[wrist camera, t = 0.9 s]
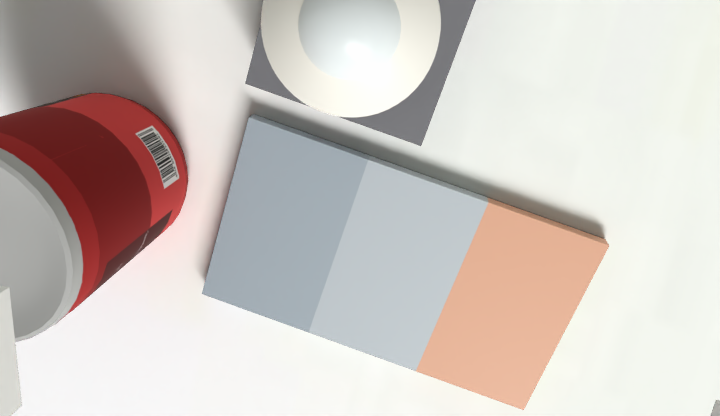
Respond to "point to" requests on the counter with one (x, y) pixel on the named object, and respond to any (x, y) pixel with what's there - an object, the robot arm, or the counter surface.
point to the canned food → (80, 199)
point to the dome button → (351, 50)
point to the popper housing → (415, 109)
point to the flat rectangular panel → (397, 262)
